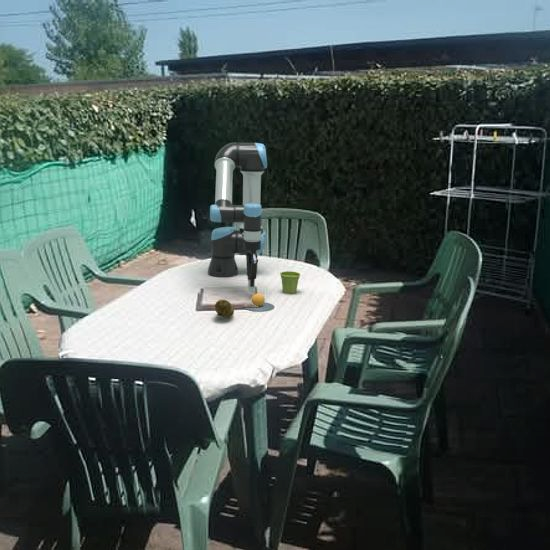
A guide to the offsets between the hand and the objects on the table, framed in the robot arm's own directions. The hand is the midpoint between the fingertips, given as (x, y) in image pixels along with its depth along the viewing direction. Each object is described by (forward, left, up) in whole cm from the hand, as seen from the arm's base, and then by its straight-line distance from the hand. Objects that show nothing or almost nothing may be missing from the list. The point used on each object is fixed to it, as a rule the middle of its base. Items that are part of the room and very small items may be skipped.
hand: (251, 293), depth 256 cm
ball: (+13, -4, +1) cm, 13 cm away
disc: (+14, -4, -2) cm, 14 cm away
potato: (+20, -22, -2) cm, 30 cm away
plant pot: (0, +20, -2) cm, 20 cm away
